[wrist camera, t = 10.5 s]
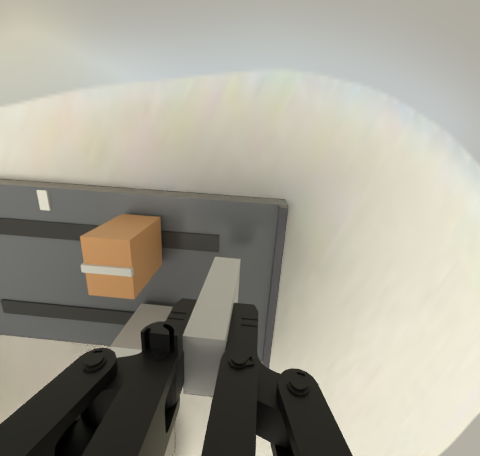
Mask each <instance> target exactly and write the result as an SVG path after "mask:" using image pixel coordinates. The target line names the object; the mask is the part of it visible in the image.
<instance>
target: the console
mask: <svg viewBox="0 0 480 456" xmlns="http://www.w3.org/2000/svg"><path fill="white" fill-rule="evenodd" d="M121 214H131V215H144V216H157V217H161V241H162V265H161V266H160V268H159V269H158V270H157V272H156V273H155V274H154V275H153V277H152V278H151V279H150V280H149V282H148V283H147V284H146V285H145V287H144V288H143V289H142V291H141V292H140V293H139V294H138V296H137V297H136V298H135V299H126V298H115V297H104V296H94V295H89V294H88V287H87V281H86V274H85V273H83V272H81V264H83V263H84V260H83V254H82V247H81V240H80V236H82V235H83V234H85V233H87V232H89V231H91V230H93V229H95V228H97V227H98V226H100V225H102V224H104V223H106V222H108V221H110V220H112V219H113V218H115V217H117V216H119V215H121ZM287 214H288V206H287V204H286V201H285V199H271V198H257V197H243V196H229V195H215V194H201V193H187V192H173V191H160V190H146V189H132V188H118V187H104V186H90V185H76V184H62V183H49V182H35V181H21V180H7V179H0V335H9V336H19V337H29V338H38V339H48V340H58V341H67V342H77V343H87V344H96V345H106V346H110V345H111V344H112V343H113V341H114V340H115V339H116V337H117V336H118V334H119V333H120V332H121V330H122V329H123V328H124V326H125V325H126V323H127V322H128V321H129V319H130V318H131V317H132V315H133V314H134V313H135V311H136V310H137V308H138V307H139V306H140V304H151V305H161V306H172V307H173V306H174V304H175V303H177V302H178V301H179V300H180V299H182V298H186V299H196V300H198V297H199V295H200V292H201V290H202V287H203V285H204V283H205V280H206V278H207V275H208V273H209V270H210V268H211V266H212V263H213V261H214V258H215V257H224V258H236V259H241V260H240V275H239V291H238V302H237V303H243V304H254V305H255V307H256V308H257V310H258V347H257V353H258V357H259V360H260V361H261V362H262V364H263V365H264V366H265V367H267V368H268V369H269V363H270V355H271V346H272V338H273V330H274V322H275V313H276V305H277V297H278V288H279V280H280V272H281V263H282V255H283V247H284V239H285V230H286V222H287Z"/></svg>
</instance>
